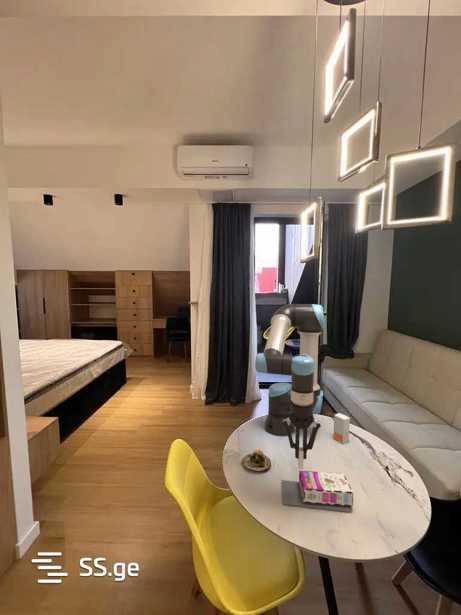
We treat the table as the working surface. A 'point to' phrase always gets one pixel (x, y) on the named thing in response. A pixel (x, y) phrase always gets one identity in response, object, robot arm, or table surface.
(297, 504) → the mat
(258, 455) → the plate of food
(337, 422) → the skincare box
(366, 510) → the table surface
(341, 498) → the candy bar box
